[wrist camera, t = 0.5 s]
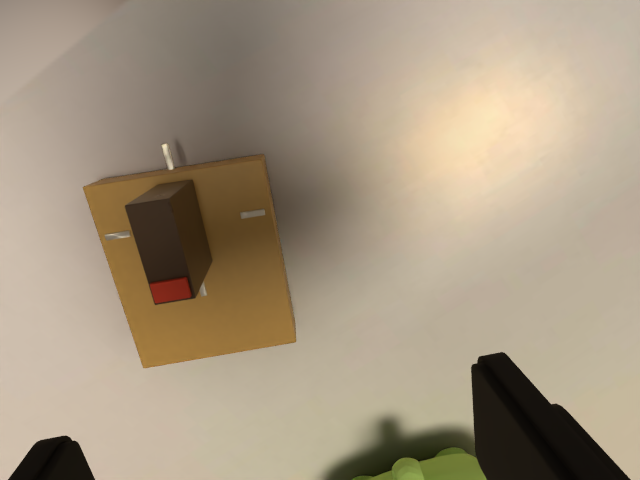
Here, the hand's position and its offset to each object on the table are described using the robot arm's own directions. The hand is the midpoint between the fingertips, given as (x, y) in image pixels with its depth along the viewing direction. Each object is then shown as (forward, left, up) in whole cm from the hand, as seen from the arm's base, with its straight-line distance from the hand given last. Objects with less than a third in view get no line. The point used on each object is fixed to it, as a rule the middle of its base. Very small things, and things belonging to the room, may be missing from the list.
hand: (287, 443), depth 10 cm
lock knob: (-2, -5, -16) cm, 17 cm away
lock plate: (+1, -6, -18) cm, 19 cm away
